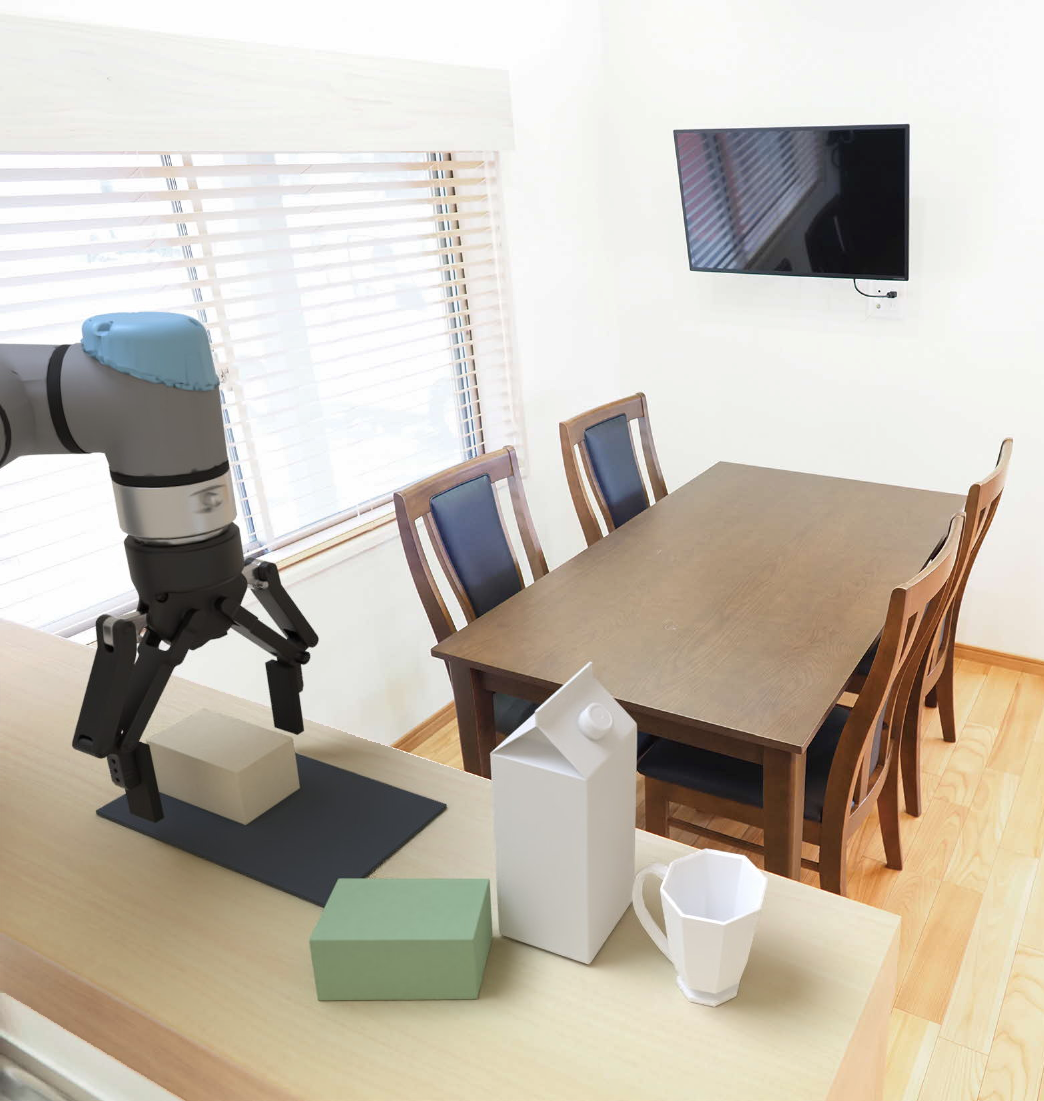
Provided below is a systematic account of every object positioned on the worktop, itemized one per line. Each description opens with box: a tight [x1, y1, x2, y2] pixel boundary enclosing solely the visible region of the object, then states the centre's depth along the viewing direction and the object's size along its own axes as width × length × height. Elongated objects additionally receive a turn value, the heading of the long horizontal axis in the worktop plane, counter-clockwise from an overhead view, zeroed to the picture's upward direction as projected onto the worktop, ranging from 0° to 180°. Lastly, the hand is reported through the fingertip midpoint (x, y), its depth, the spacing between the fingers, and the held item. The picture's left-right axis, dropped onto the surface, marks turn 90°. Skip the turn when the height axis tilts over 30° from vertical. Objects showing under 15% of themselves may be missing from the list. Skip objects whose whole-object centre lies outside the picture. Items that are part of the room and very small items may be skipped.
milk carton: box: [489, 661, 638, 965], centre depth 63 cm, size 7×7×19 cm
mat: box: [95, 752, 448, 909], centre depth 76 cm, size 24×13×1 cm, turn 67°
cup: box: [632, 848, 769, 1008], centre depth 62 cm, size 7×10×8 cm
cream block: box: [145, 707, 300, 825], centre depth 77 cm, size 10×6×5 cm, turn 67°
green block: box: [308, 878, 494, 1001], centre depth 61 cm, size 10×6×5 cm, turn 93°
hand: (223, 769), depth 77 cm, fingers open, 13 cm apart
